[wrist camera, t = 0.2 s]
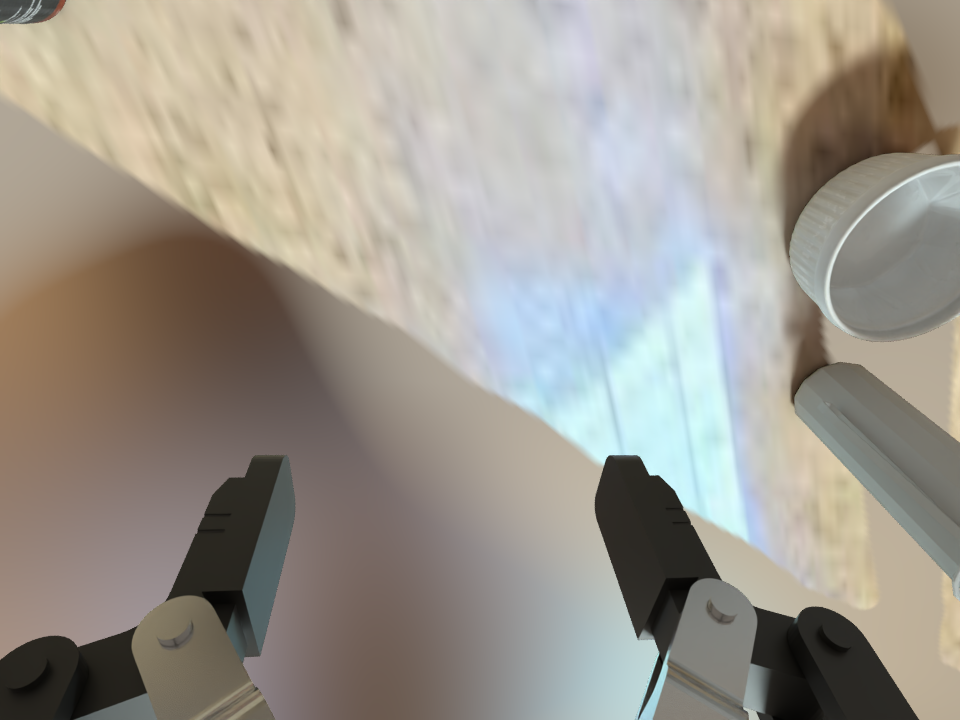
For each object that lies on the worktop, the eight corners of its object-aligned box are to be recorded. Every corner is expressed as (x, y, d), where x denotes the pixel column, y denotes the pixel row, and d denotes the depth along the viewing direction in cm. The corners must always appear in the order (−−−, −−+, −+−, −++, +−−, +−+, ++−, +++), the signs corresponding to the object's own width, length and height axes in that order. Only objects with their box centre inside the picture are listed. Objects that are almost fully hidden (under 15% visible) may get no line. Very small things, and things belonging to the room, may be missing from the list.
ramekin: (741, 285, 44) (788, 325, 38) (833, 117, 37) (908, 133, 31) (873, 316, 46) (937, 357, 40) (981, 163, 40) (1076, 186, 34)
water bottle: (885, 370, 49) (1221, 624, 28) (824, 430, 53) (1082, 696, 32) (814, 336, 47) (1125, 587, 26) (755, 402, 50) (986, 671, 29)
